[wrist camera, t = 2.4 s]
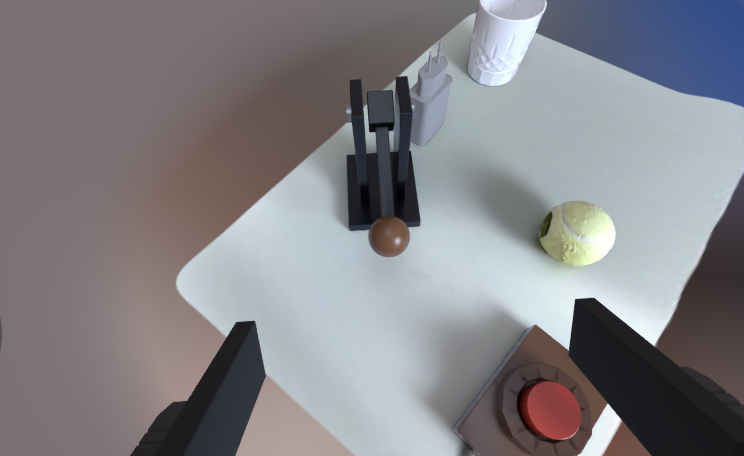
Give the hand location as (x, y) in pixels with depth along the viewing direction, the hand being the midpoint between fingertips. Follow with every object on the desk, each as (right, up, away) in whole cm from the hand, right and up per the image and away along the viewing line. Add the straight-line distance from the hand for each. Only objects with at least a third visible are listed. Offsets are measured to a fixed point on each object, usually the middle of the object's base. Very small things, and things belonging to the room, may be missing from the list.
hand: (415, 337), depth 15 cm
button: (+12, -10, +14) cm, 21 cm away
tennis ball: (+19, +2, +24) cm, 31 cm away
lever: (-1, +9, +18) cm, 20 cm away
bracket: (-1, +9, +28) cm, 30 cm away
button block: (+12, -12, +17) cm, 24 cm away
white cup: (+15, +27, +37) cm, 49 cm away
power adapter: (+5, +18, +33) cm, 37 cm away
